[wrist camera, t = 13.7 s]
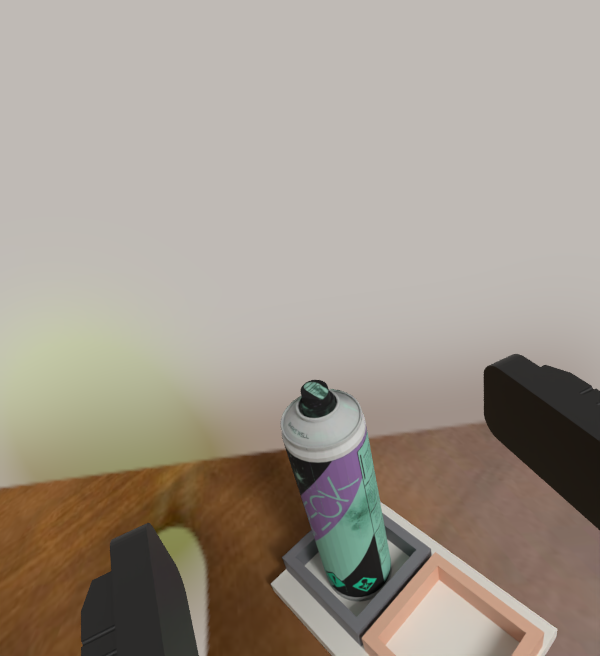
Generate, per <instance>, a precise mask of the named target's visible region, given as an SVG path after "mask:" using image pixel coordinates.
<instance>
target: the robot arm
mask: <svg viewBox="0 0 600 656" xmlns="http://www.w3.org/2000/svg"><path fill="white" fill-rule="evenodd" d="M484 416H485V420H486V423H487V425H488V427H489V429H490V431H491V432H492V433H493V435H494V436H495V437H496V438H497V439H498V440H499V441H500V442H501V443H502V444H504V445H505V446H506V447H507V448H508V449H509V450H510V451H511V452H513V453H514V454H515V455H516V456H517V457H518V458H519V459H520V460H521V461H523V462H524V463H525V464H526V465H527V466H528V467H529V468H530V469H532V470H533V471H534V472H535V473H536V474H537V475H538V476H539V477H541V478H542V479H543V480H544V481H545V482H546V483H547V484H548V485H550V486H551V487H552V488H553V489H554V490H555V491H556V492H557V493H559V494H560V495H561V496H562V497H563V498H564V499H565V500H566V501H568V502H569V503H570V504H571V505H572V506H573V507H574V508H575V509H576V510H578V511H579V512H580V513H581V514H582V515H583V516H584V517H585V518H587V519H588V520H589V521H590V522H591V523H592V524H593V525H594V526H596V527H597V528H598V529H599V530H600V391H599V390H597V389H593V388H592V386H591V385H589V384H588V383H586V382H585V381H583V380H581V379H580V378H578V377H577V376H575V375H573V374H572V373H570V372H566V371H563V370H560V369H557V368H554V367H551V366H547V365H544V366H542V367H539V366H538V365H536V364H535V363H533V362H531V361H530V360H528V359H527V358H525V357H524V356H522V355H519V354H513V355H511V356H509V357H507V358H504V359H502V360H500V361H498V362H496V363H494V364H491V365H489V366H487V367H486V368H485V370H484ZM110 556H111V572H109V573H107V574H105V575H102V576H100V577H98V578H96V579H94V580H92V582H91V585H90V588H89V591H88V594H87V596H86V599H85V602H84V605H83V608H82V610H81V642H82V644H83V647H81V656H199V655H198V650H197V645H196V640H195V635H194V630H193V626H192V620H191V615H190V610H189V605H188V601H187V596H186V592H185V588H184V584H183V581H182V578H181V576H180V573H179V571H178V568H177V567H176V564H175V563H174V561H173V559H172V558H171V556H170V554H169V553H168V551H167V550H166V548H165V546H164V545H163V543H162V541H161V540H160V538H159V536H158V535H157V533H156V532H155V530H154V528H153V527H152V525H151V524H150V523H147V524H145V525H142V526H140V527H138V528H136V529H134V530H132V531H130V532H127V533H125V534H123V535H121V536H119V537H117V538H115V539H113V540H111V543H110Z"/></svg>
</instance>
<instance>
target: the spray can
mask: <svg viewBox="0 0 600 656" xmlns="http://www.w3.org/2000/svg"><path fill="white" fill-rule="evenodd" d="M281 430H282V439H283V442H284V445H285V448H286V451H287V454H288V457H289V460H290V464H291V467H292V470H293V473H294V476H295V479H296V482H297V485H298V488H299V492H300V495H301V498H302V501H303V504H304V507H305V510H306V513H307V517H308V520H309V523H310V526H311V529H312V532H313V535H314V538H315V541H316V545H317V548H318V551H319V554H320V557H321V560H322V563H323V566H324V570H325V573H326V576H327V578H328V581H329V583H330V585H331V587H332V588H333V590H334V591H335V592H336V593H337V594H338V595H340V596H341V597H343V598H345V599H347V600H350V601H356V602H358V601H367V600H370V599H372V598H374V597H375V596H376V595H377V594H378V593H379V591H380V590H381V589H382V588H383V587H384V586H385V585H386V584H387V582H388V581H389V580H390V578H391V572H392V567H391V558H390V553H389V547H388V542H387V536H386V531H385V526H384V520H383V515H382V509H381V504H380V498H379V493H378V488H377V482H376V477H375V471H374V466H373V460H372V455H371V449H370V444H369V439H368V433H367V428H366V422H365V418H364V415H363V412H362V410H361V407H360V404H359V403H358V401H357V400H356V399H355V398H354V397H353V396H351V395H350V394H348V393H346V392H343V391H340V390H334V389H328V386H327V384H326V383H325V382H323V381H321V380H311V381H308V382H306V383H305V384H304V385H303V386H302V388H301V396H300V397H298V398H297V399H295V400H294V401H293V402H292V403H291V404H290V405H289V406H288V407H287V408H286V410H285V411H284V413H283V415H282V418H281Z"/></svg>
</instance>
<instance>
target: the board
mask: <svg viewBox="0 0 600 656" xmlns="http://www.w3.org/2000/svg"><path fill="white" fill-rule="evenodd" d="M380 504H381V509H382V515H383V520H384V526H385V531H386V536H387V542H388V547H389V553H390V558H391V567H392V572H391V578H390V580H389V581H388V582H387V584H386V585H385V586H384V587H383V588H382V589H381V590H380V591H379V593H378V594H377V595H376V596H375V597H374V598H372V599H370V600H367V601H358V602H356V601H350V600H347V599H345V598H343V597H341V596H340V595H338V594H337V593H336V592H335V591H334V590H333V588H332V587H331V585H330V583H329V581H328V578H327V576H326V573H325V570H324V566H323V563H322V560H321V557H320V554H319V551H318V548H317V545H316V541H315V538H314V535H313V532H312V530H311V531H310V532H309V533H307V534H306V535H305V536H304V537H303V538H302V539H301V540H300V541H299V542H298V543H297V544H296V545H295V546H294V547H293V548H292V549H291V550H290V551H288V552H287V553H286V554H285V555H284V556H283V557H282V559H283V561H284V564H285V566H286V570H284V571H283V572H282V573H281V574H280V575H279V576H278V577H277V578H276V579H275V580H274V581H273V582H272V583H271V586H272V588H273V590H274V592H275V593H276V594H277V595H278V596H279V597H280V598H281V600H282V601H283V602H284V603H285V604H286V605H287V606H288V607H289V608H290V610H291V611H292V612H293V613H294V614H295V615H296V616H297V617H298V619H299V620H300V621H301V622H302V623H303V624H304V625H305V626H306V627H307V629H308V630H309V631H310V632H311V633H312V634H313V635H314V636H315V637H316V639H317V640H318V641H319V642H320V643H321V644H322V645H323V646H324V647H325V649H326V650H327V651H328V652H329V653H330V654H331V655H332V656H545V655H546V653H547V651H548V650H549V648H550V647H551V645H552V643H553V642H554V640H555V638H556V635H557V629H556V628H555V627H554V626H552V625H551V624H549V623H548V622H547V621H545V620H544V619H542V618H541V617H540V616H538V615H537V614H536V613H534V612H533V611H531V610H530V609H529V608H527V607H526V606H524V605H523V604H522V603H520V602H519V601H517V600H516V599H515V598H513V597H512V596H511V595H509V594H508V593H506V592H505V591H504V590H502V589H501V588H499V587H498V586H497V585H495V584H494V583H493V582H491V581H490V580H488V579H487V578H486V577H484V576H483V575H481V574H480V573H479V572H477V571H476V570H474V569H473V568H472V567H470V566H469V565H468V564H466V563H465V562H463V561H462V560H461V559H459V558H458V557H456V556H455V555H454V554H452V553H451V552H450V551H448V550H447V549H445V548H444V547H443V546H441V545H440V544H438V543H437V542H436V541H434V540H433V539H431V538H430V537H429V536H427V535H426V534H425V533H423V532H422V531H420V530H419V529H418V528H416V527H415V526H413V525H412V524H411V523H409V522H408V521H406V520H405V519H404V518H402V517H401V516H400V515H398V514H397V513H395V512H394V511H393V510H391V509H390V508H388V507H387V506H386V505H384V504H383V503H382V502H380Z"/></svg>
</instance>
